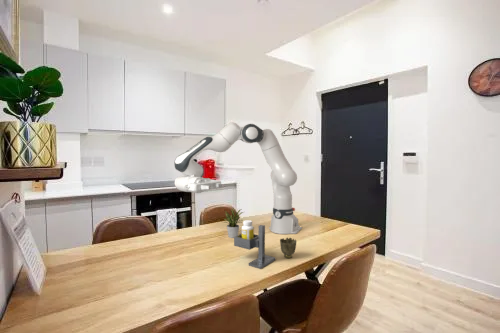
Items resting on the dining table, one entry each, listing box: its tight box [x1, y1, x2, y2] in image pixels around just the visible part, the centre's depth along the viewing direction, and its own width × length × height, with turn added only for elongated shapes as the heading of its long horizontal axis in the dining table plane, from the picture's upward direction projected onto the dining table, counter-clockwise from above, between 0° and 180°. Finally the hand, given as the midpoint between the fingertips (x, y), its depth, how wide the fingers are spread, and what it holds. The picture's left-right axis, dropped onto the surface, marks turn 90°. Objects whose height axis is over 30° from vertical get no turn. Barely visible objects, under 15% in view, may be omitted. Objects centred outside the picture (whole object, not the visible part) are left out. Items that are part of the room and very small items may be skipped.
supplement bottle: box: [241, 219, 255, 240], centre depth 120 cm, size 5×5×10 cm
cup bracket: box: [233, 224, 277, 270], centre depth 118 cm, size 12×15×16 cm
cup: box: [279, 237, 298, 259], centre depth 122 cm, size 8×7×8 cm
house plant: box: [223, 208, 244, 239], centre depth 153 cm, size 14×14×16 cm
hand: (215, 186), depth 140 cm, fingers open, 8 cm apart
